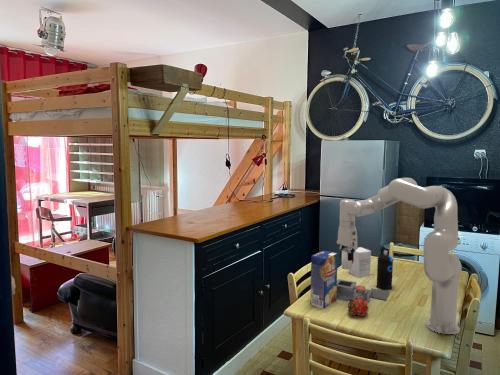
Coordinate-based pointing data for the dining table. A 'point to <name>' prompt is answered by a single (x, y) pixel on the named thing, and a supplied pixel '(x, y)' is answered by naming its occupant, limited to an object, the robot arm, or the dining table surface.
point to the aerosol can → (384, 272)
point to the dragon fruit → (358, 306)
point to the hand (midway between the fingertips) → (346, 258)
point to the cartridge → (346, 259)
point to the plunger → (360, 289)
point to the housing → (350, 291)
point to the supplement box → (361, 262)
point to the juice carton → (323, 279)
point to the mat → (380, 294)
